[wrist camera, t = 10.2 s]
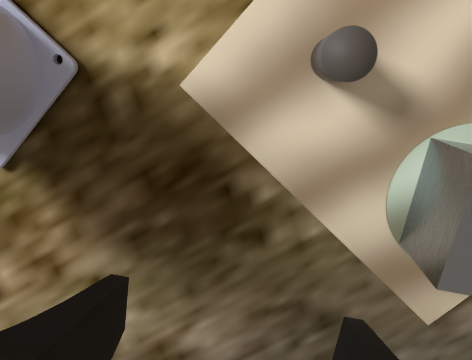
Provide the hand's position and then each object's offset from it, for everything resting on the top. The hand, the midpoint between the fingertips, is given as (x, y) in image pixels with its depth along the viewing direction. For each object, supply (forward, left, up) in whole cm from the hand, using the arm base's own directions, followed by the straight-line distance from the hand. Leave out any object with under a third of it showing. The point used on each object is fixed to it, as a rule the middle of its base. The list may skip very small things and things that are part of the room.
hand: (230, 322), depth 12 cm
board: (+2, +9, -9) cm, 13 cm away
